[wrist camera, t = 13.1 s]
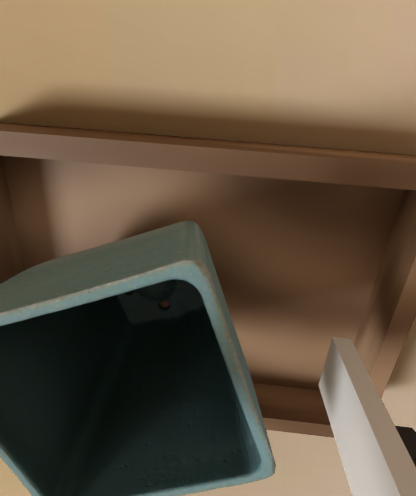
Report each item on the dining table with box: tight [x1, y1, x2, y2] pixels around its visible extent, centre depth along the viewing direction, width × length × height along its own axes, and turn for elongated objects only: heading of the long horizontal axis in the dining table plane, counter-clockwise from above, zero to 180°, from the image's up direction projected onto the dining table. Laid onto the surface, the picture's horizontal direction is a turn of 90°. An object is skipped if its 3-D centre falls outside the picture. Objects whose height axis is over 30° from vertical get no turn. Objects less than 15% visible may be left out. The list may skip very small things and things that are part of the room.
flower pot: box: [0, 221, 276, 496], centre depth 14 cm, size 9×9×9 cm
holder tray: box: [0, 123, 416, 437], centre depth 17 cm, size 16×22×4 cm
